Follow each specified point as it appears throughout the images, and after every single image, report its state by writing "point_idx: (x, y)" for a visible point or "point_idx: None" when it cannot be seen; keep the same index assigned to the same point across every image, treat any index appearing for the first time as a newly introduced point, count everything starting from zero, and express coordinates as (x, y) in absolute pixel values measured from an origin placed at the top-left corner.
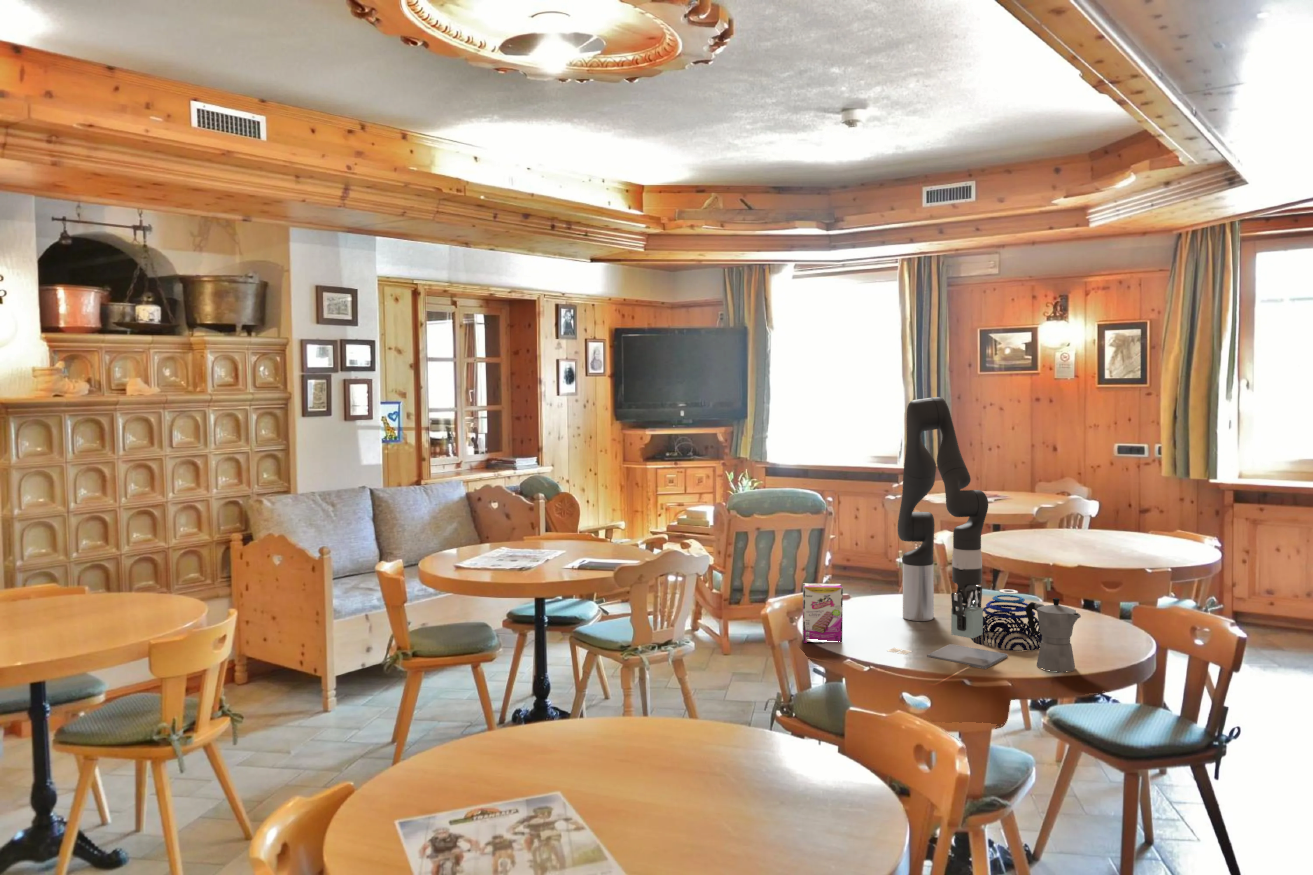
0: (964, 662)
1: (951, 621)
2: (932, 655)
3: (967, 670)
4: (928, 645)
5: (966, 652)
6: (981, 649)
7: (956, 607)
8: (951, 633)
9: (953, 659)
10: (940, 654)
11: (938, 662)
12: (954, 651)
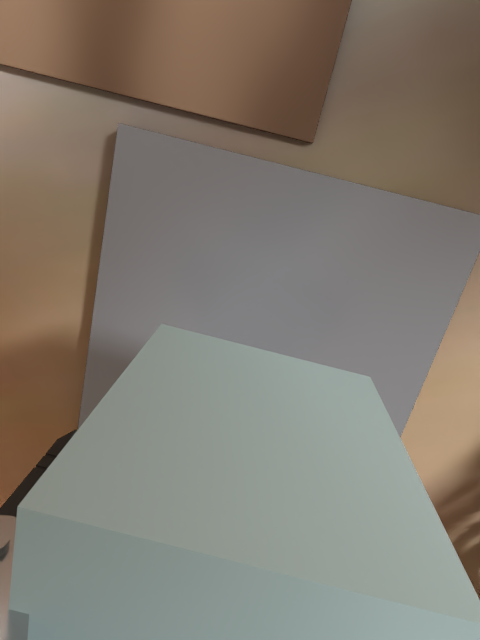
0: (87, 374)
1: (114, 383)
2: (119, 165)
3: (6, 395)
4: (468, 45)
5: (294, 356)
6: (403, 424)
7: (183, 574)
8: (158, 329)
9: (100, 311)
10: (170, 212)
11: (61, 223)
12: (288, 283)
